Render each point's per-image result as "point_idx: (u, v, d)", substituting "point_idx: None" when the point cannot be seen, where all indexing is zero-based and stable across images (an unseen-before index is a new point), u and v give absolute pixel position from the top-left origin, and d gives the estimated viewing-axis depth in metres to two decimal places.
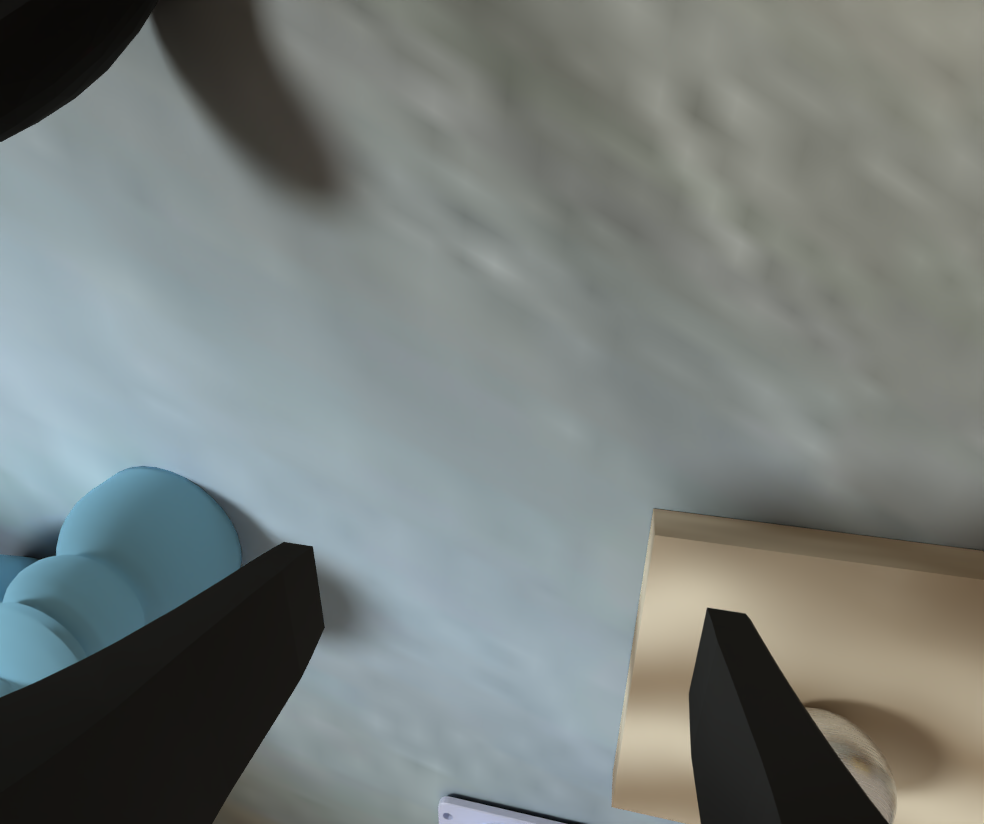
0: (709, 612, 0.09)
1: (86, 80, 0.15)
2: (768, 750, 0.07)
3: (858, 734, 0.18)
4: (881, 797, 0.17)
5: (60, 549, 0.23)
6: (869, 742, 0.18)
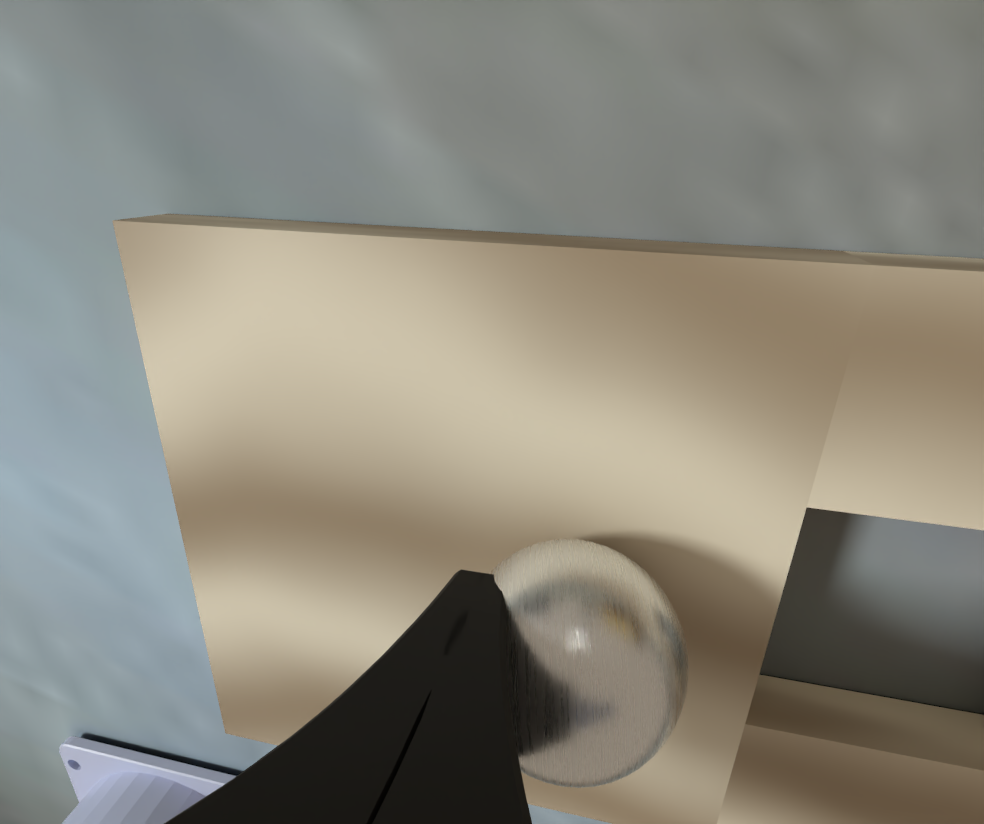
0: (472, 575, 0.10)
1: None
2: (441, 686, 0.08)
3: (546, 542, 0.11)
4: None
5: None
6: (550, 540, 0.11)
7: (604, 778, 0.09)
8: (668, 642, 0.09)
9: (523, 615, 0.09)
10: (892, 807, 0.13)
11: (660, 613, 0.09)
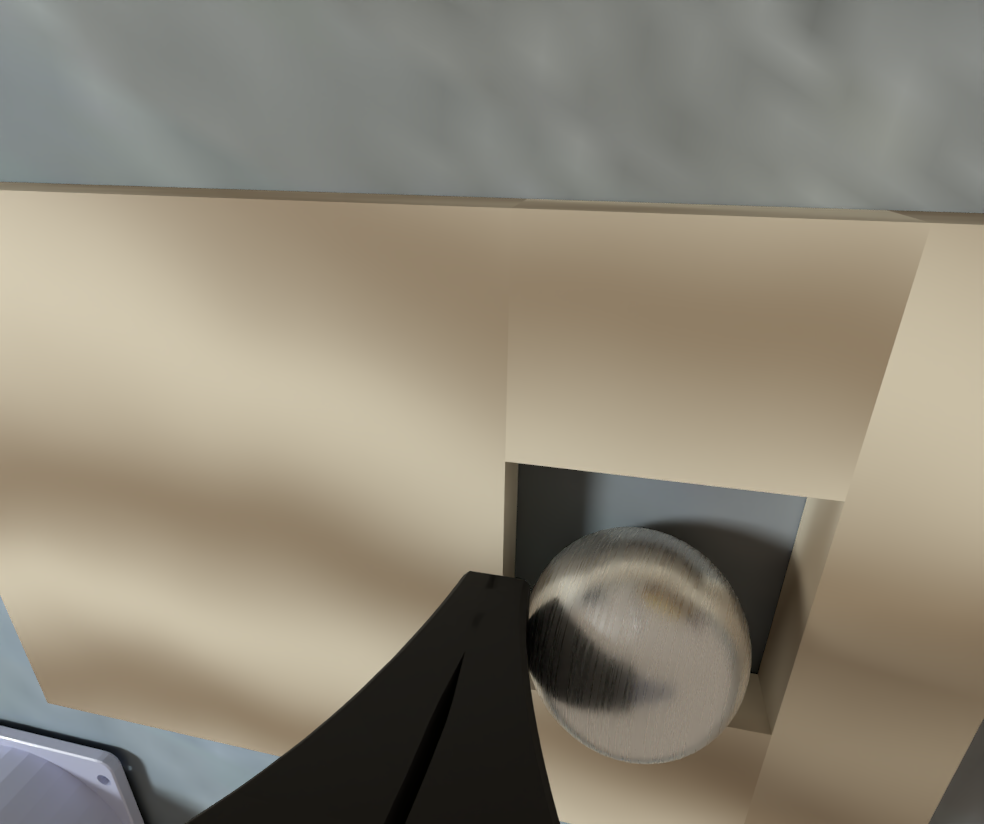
0: (489, 578, 0.10)
1: None
2: (464, 691, 0.07)
3: (637, 632, 0.09)
4: (544, 635, 0.10)
5: None
6: (626, 654, 0.09)
7: None
8: (568, 546, 0.11)
9: (689, 559, 0.10)
10: (648, 764, 0.13)
11: (564, 551, 0.11)
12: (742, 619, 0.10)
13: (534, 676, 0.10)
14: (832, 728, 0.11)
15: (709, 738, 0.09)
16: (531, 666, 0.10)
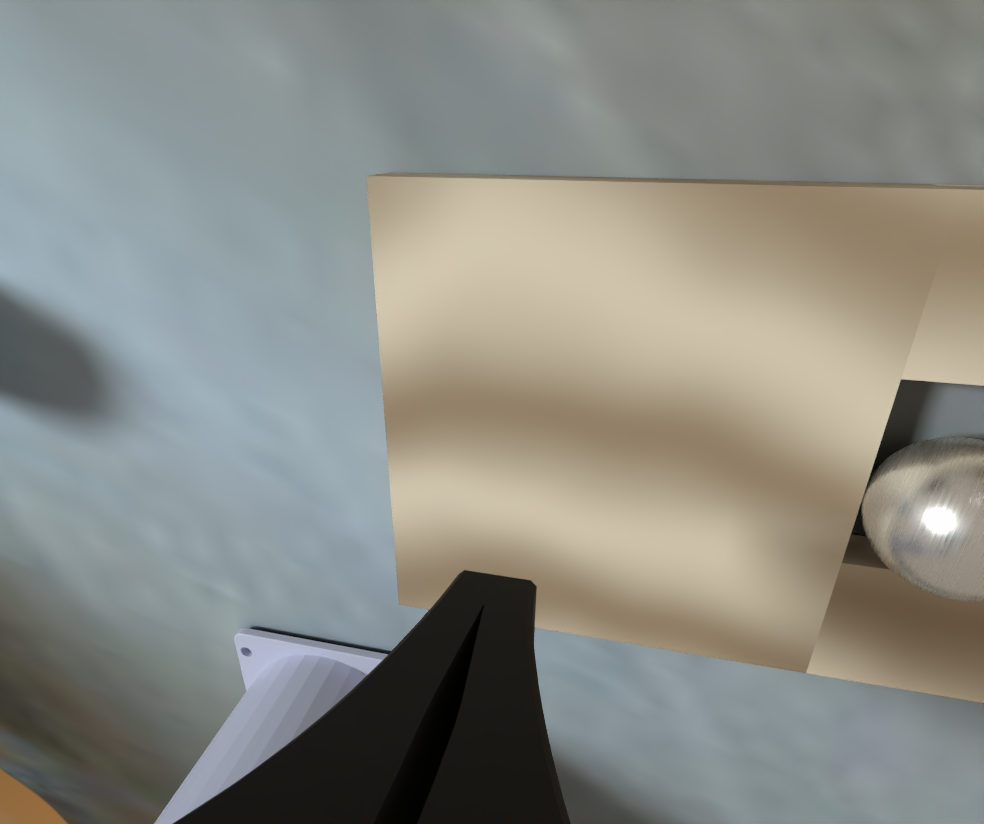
0: (496, 579, 0.10)
1: None
2: (473, 692, 0.07)
3: (981, 500, 0.13)
4: (894, 499, 0.14)
5: None
6: (971, 514, 0.13)
7: None
8: (906, 446, 0.15)
9: None
10: (956, 625, 0.16)
11: (907, 448, 0.15)
12: None
13: (877, 528, 0.15)
14: None
15: None
16: (875, 521, 0.15)
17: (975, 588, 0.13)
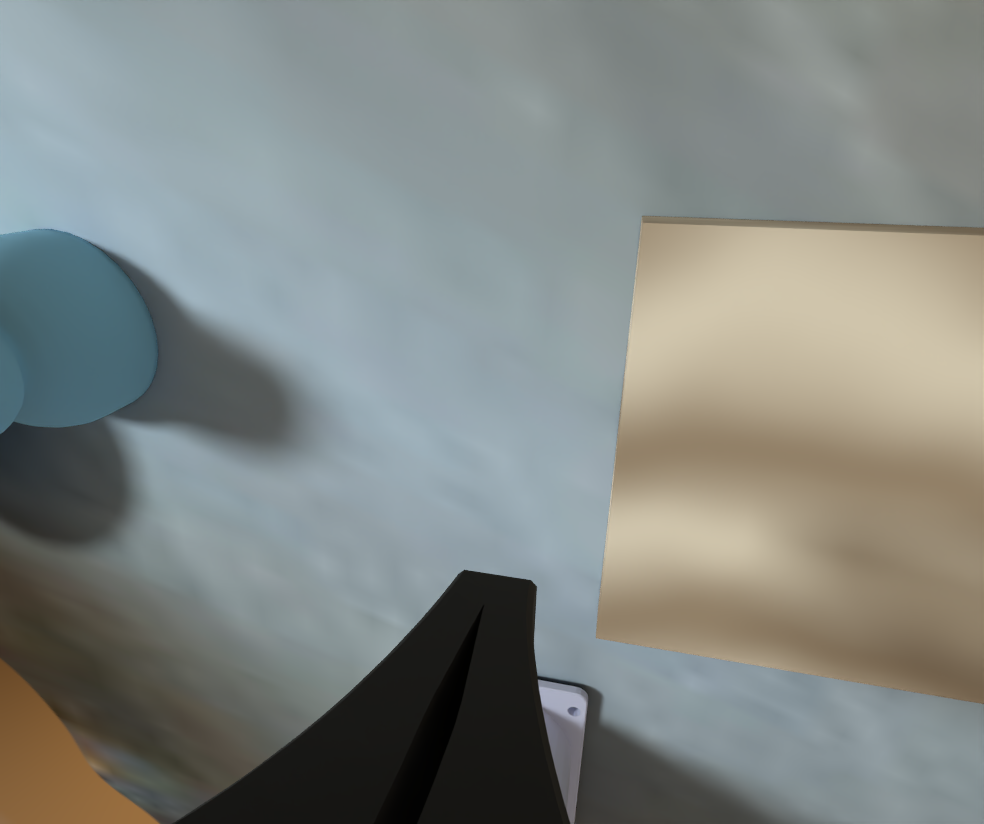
0: (496, 579, 0.10)
1: None
2: (473, 692, 0.07)
3: None
4: None
5: None
6: None
7: None
8: None
9: None
10: None
11: None
12: None
13: None
14: None
15: None
16: None
17: None
